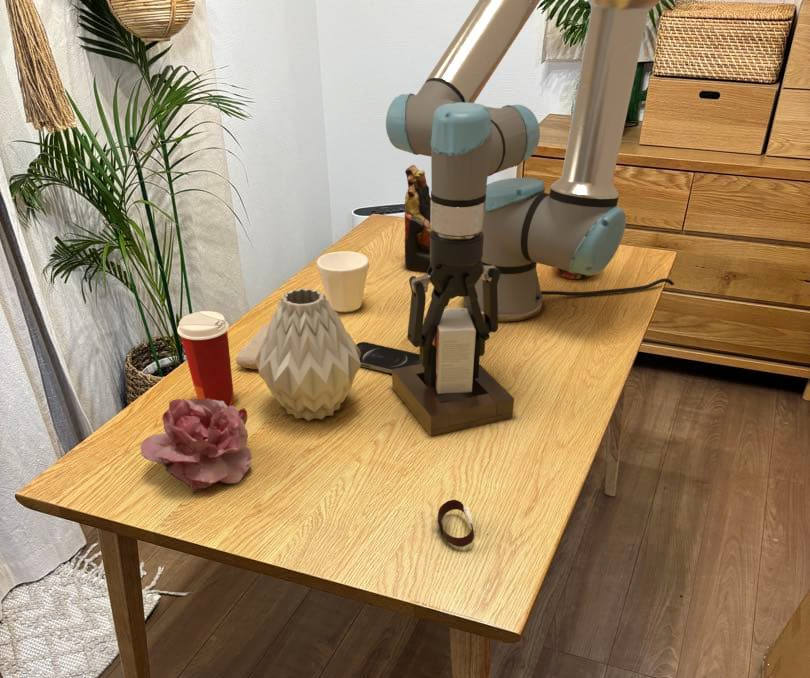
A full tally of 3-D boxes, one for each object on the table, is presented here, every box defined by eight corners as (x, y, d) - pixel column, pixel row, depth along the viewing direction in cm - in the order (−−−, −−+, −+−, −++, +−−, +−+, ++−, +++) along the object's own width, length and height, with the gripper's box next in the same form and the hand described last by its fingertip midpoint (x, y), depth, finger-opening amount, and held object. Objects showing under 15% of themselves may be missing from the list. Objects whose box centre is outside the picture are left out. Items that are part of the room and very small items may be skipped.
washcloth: (336, 334, 147) (335, 318, 145) (300, 379, 134) (298, 363, 132) (277, 326, 149) (275, 311, 147) (236, 370, 136) (233, 354, 134)
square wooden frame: (468, 372, 135) (469, 353, 133) (512, 417, 124) (514, 398, 122) (392, 388, 131) (392, 369, 129) (430, 436, 120) (431, 416, 118)
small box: (430, 370, 128) (431, 308, 121) (465, 368, 128) (468, 306, 121) (436, 394, 122) (438, 330, 115) (472, 393, 122) (476, 329, 115)
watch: (481, 547, 100) (483, 525, 98) (445, 552, 99) (446, 530, 97) (465, 511, 106) (466, 489, 103) (431, 515, 105) (431, 493, 103)
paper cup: (248, 394, 130) (236, 313, 121) (225, 417, 124) (211, 334, 115) (207, 386, 132) (191, 306, 123) (182, 409, 126) (164, 327, 117)
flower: (119, 468, 109) (126, 408, 103) (180, 427, 120) (190, 370, 114) (212, 516, 107) (225, 458, 101) (265, 470, 119) (279, 415, 113)
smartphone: (361, 340, 143) (435, 357, 137) (361, 345, 143) (435, 362, 138) (339, 357, 138) (415, 375, 132) (339, 362, 138) (415, 380, 133)
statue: (431, 275, 168) (433, 175, 155) (398, 269, 171) (396, 170, 158) (453, 256, 176) (457, 160, 163) (421, 250, 179) (422, 155, 166)
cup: (370, 296, 160) (369, 250, 154) (370, 317, 152) (368, 270, 146) (321, 297, 160) (317, 251, 154) (318, 318, 152) (314, 270, 146)
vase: (250, 394, 130) (234, 285, 118) (344, 375, 135) (337, 268, 123) (278, 444, 118) (263, 329, 106) (379, 421, 123) (376, 308, 111)
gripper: (507, 213, 115) (496, 357, 130) (381, 231, 110) (384, 379, 125) (532, 229, 110) (517, 378, 125) (401, 249, 104) (402, 402, 119)
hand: (451, 378), depth 125 cm, fingers closed on small box, 7 cm apart
